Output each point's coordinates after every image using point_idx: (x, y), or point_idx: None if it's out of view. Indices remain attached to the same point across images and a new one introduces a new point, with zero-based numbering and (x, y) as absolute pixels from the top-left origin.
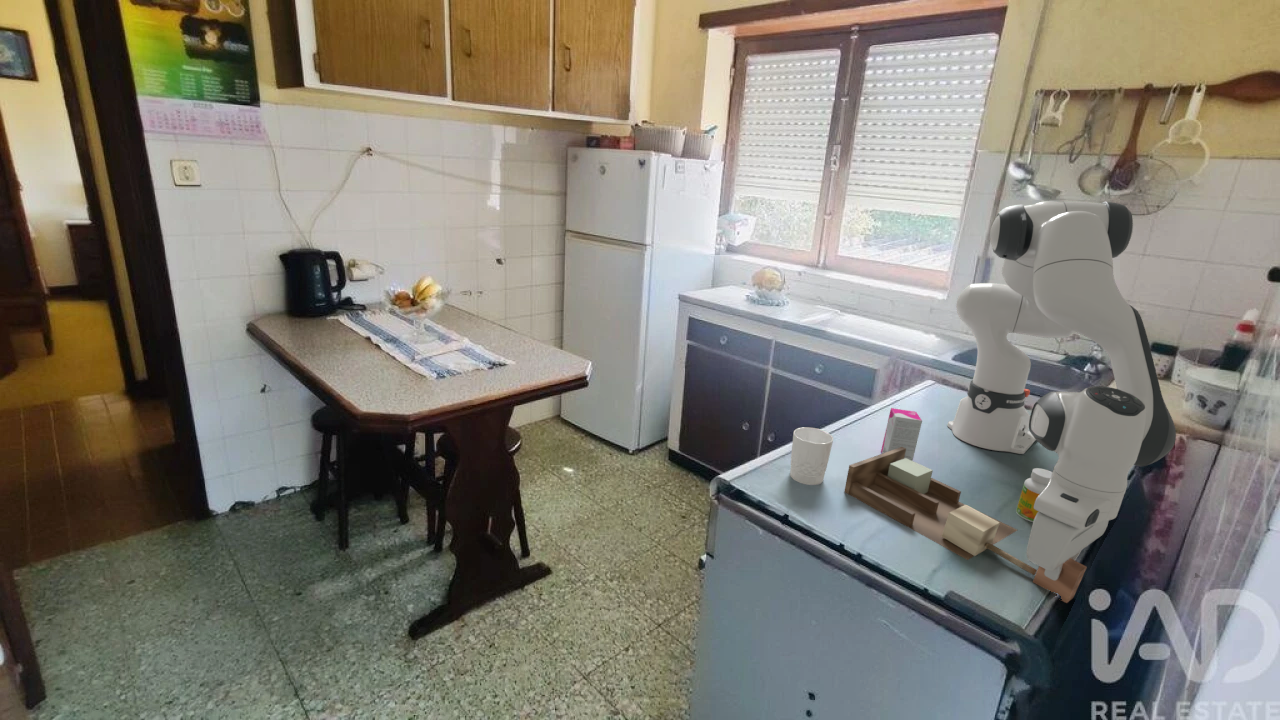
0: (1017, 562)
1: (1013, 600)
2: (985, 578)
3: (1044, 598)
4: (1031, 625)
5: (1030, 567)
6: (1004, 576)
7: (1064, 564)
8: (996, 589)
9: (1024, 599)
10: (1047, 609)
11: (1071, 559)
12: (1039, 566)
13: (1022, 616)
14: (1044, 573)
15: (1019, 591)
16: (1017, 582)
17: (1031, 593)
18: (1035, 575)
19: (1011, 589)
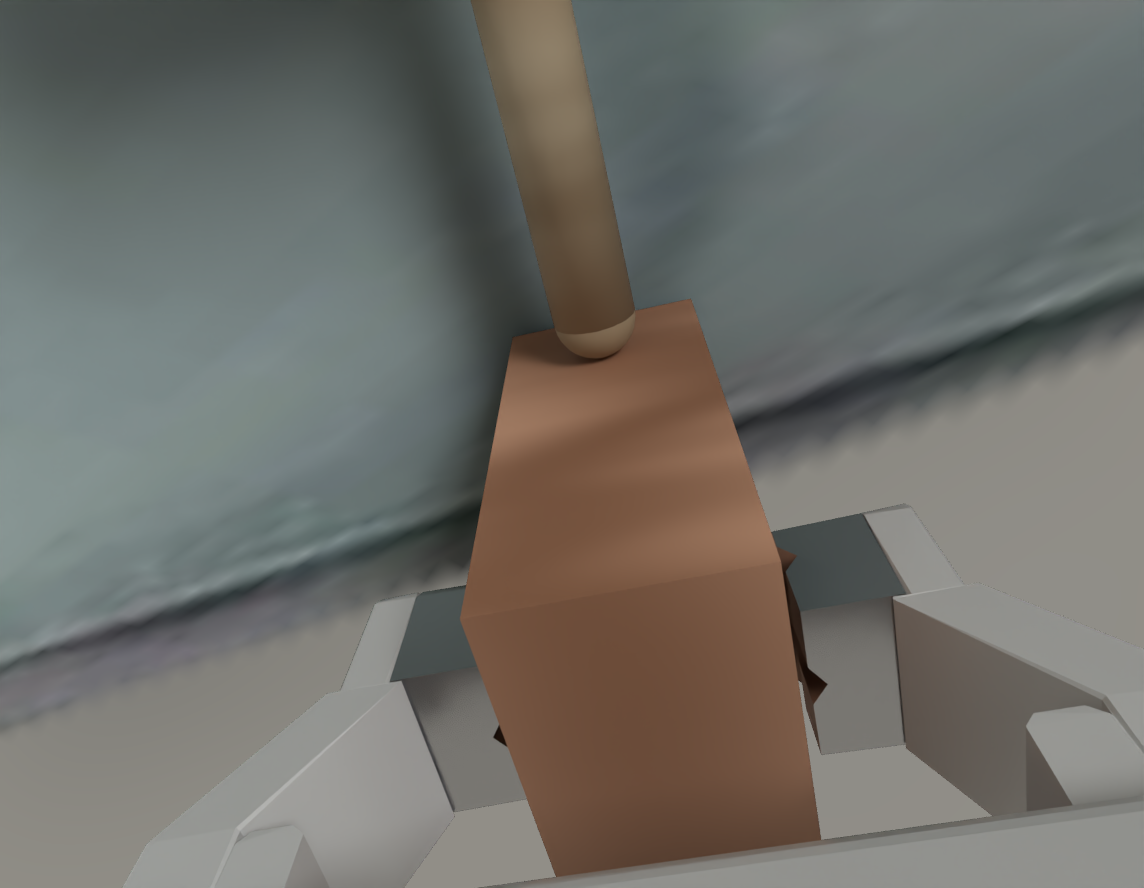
0: (501, 106)
1: (78, 448)
2: (8, 71)
3: (435, 519)
4: (5, 689)
5: (567, 271)
6: (301, 120)
7: (545, 844)
8: (10, 271)
9: (210, 470)
10: (321, 617)
11: (794, 824)
12: (489, 462)
13: (4, 607)
14: (379, 603)
15: (259, 373)
16: (370, 258)
17: (367, 433)
18: (506, 384)
19: (193, 323)
